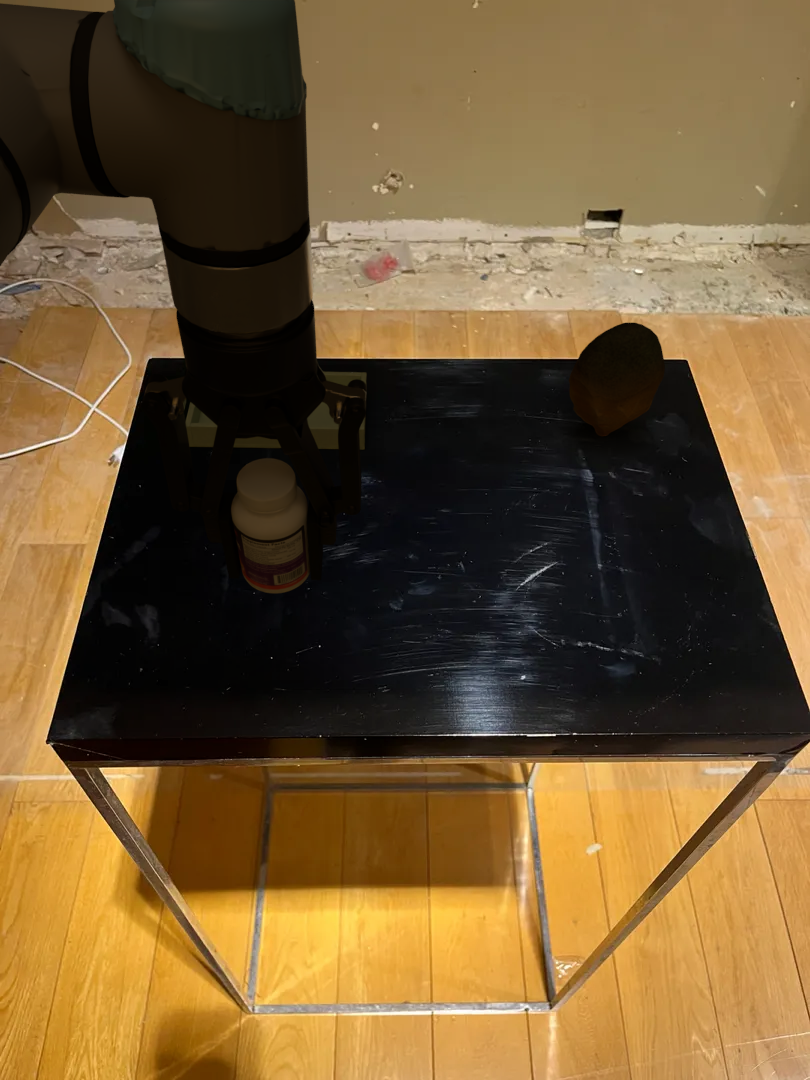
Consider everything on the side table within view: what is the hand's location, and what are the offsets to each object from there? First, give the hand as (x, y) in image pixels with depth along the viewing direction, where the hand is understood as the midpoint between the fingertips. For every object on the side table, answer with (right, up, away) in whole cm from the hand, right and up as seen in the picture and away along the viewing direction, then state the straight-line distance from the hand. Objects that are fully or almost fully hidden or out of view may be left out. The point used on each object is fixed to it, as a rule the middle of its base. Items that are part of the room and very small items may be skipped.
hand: (276, 564), depth 63 cm
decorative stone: (+32, +13, +31) cm, 46 cm away
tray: (-4, +16, +31) cm, 35 cm away
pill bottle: (0, 0, 0) cm, 1 cm away
